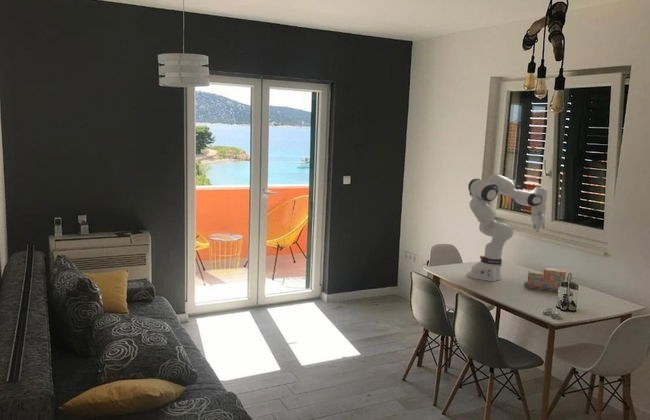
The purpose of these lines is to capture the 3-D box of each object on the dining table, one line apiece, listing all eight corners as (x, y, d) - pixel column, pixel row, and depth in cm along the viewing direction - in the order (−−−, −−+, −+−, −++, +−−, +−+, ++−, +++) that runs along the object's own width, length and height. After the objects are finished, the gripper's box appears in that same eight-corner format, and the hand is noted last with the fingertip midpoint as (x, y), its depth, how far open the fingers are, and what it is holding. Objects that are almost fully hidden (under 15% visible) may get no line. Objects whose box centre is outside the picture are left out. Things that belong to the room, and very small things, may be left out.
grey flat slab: (527, 288, 349) (527, 285, 349) (524, 284, 359) (524, 281, 358) (567, 293, 345) (568, 290, 345) (563, 288, 355) (564, 285, 354)
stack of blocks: (528, 286, 351) (530, 268, 349) (526, 283, 357) (529, 265, 355) (563, 290, 346) (566, 272, 344) (561, 287, 352) (564, 269, 350)
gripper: (546, 213, 359) (544, 233, 361) (540, 208, 379) (537, 228, 381) (536, 212, 360) (534, 233, 362) (530, 208, 380) (528, 227, 382)
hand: (535, 230), depth 372 cm, fingers open, 8 cm apart
